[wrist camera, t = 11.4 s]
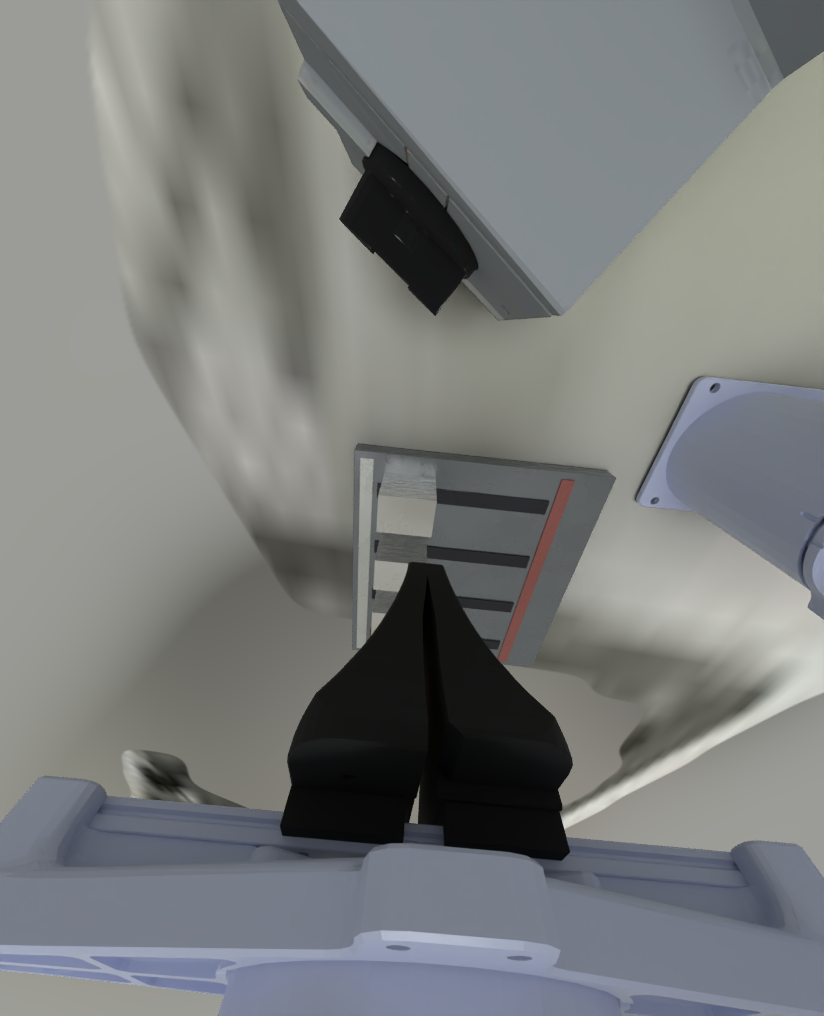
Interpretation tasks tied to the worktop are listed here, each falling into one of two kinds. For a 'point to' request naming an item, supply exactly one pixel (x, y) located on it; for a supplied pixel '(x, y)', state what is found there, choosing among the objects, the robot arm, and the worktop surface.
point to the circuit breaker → (532, 126)
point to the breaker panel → (472, 537)
